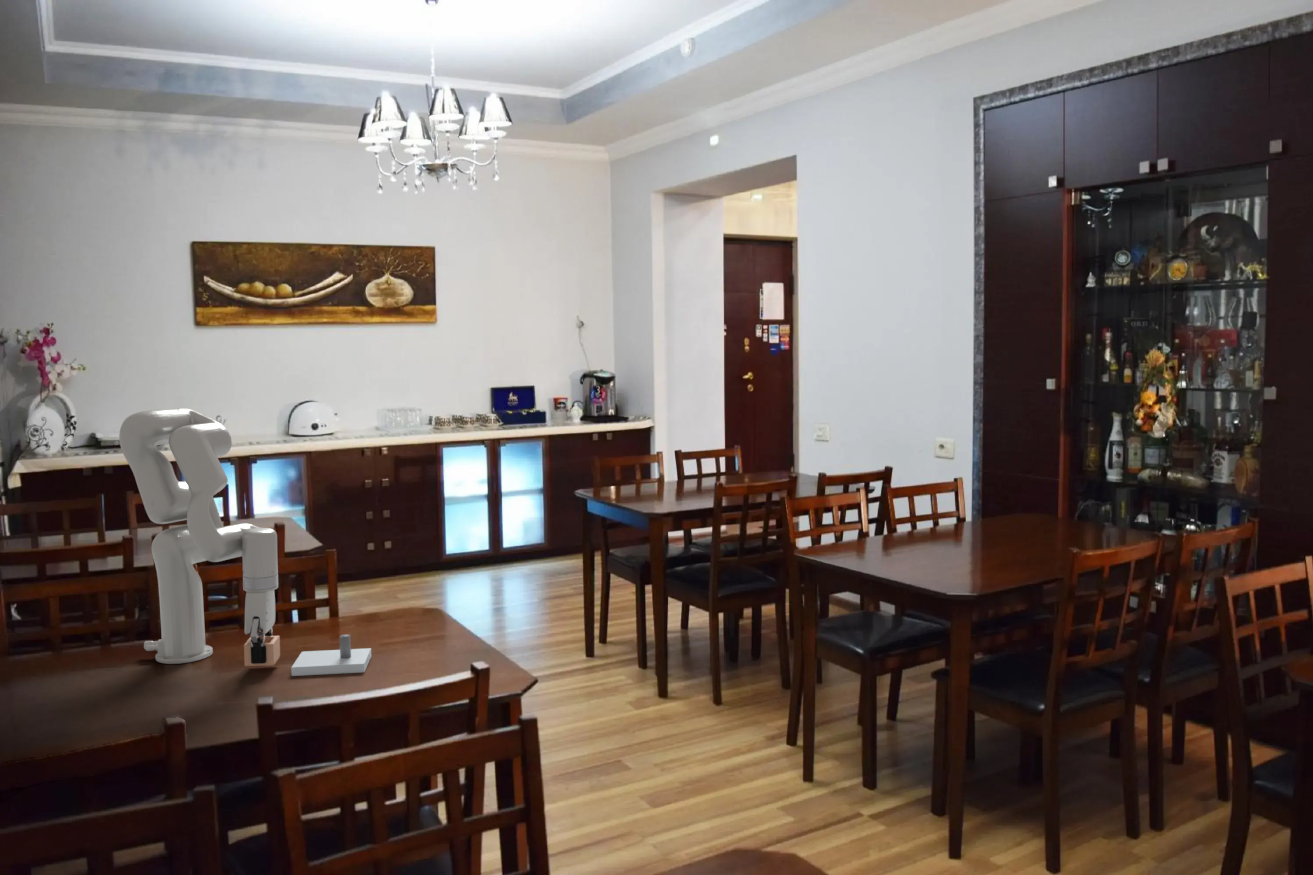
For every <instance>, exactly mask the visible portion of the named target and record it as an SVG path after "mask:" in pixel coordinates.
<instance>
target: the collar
mask: <svg viewBox="0 0 1313 875" xmlns="http://www.w3.org/2000/svg"><path fill="white" fill-rule="evenodd" d="M258 637H260V639H261V636H258ZM280 644H281V637H280V635H273V636H265V644H264V646H266V663H262V664H252V663H251V636H250V637H249V638H248V639H247V640H246V642H245V643H244V644H243V649H244V651H243V652H244V653H243V655H244V656H243V657H244V660H243V661H244V667H256V666H257V667H259V666H261V667H262V666H264V667H265V666H275V664H276V663H277V662H278V660H279V659H280V657H281V645H280Z"/></svg>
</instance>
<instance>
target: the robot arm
mask: <svg viewBox="0 0 1313 875" xmlns="http://www.w3.org/2000/svg"><path fill="white" fill-rule="evenodd" d="M118 437H119V439H118V440H119V441H118V442H119V446H120V449H121V452H122V454H123V456H124V458H125V459H126V462H127V463H128V465H129V467H130V469H131V472H132V473H133V476H134V478H135V482H136V485H137V489H138V491H139V494H140V497H141V500H142V504H143V506H144V510H145V513H146V514H147V516H148V518H149V520H150V521H151V522H153V523H154V524H158V525H165V524H172V523H173V524H174V523H177V522H182V521H186V524H184V525H178V526H174V527H169V528H166V529H164V530H162V531H160V532H159V533H158V534H156V535H155V537H154V539H153V540H152V543H151V554H152V558H153V559H152V560H153V562H154V564H155V565H154V566H155V570H156V576H157V584H158V597H159V611H160V612H159V613H160V617H159V618H160V628H161V629H160V630H161V633H160V634H161V639H158V640H155V641H154V640H145V641H144V643H143V648H144V650H145V651H146V652H153V651H156V652H157V653H156V654H155V661H156V662H158V663H160V664H166V665H167V664H168V665H179V664H186V663H187V664H188V663H194V662H198V661H202V660H204V659H206V658H208V657H210V656H211V655H212V654H213V653H214V650H213V647H212V646H210V645H208V644H206V628H205V613H204V612H205V611H204V609H205V608H204V607H205V606H204V595H203V593H204V591H203V582H202V579H201V576H200V575H199V573H198V572H197V571H196V569H195V567H194V565H195V564H197V563H202V562H207V561H208V562H211V563H219V562H223V561H226V560H231V559H236V558H240V557H242V588H243V591H245V592H246V593H245V600H244V634H245V635H249V634H250V637H251V663H252V664H262V663H266V646H264V644H265V636H274V635H273V634H274V631H273V626H274V625H275V623H276V597H275V592H276V591H275V590H277V589H278V588H279V570H278V569H279V564H278V560H279V558H278V533H277V531H276V530H275V529H273V528H270V527H259V526H256V525H255V524H252V523H248V522H241V523H236V524H231V525H225V526H224V525H223V523H222V519H221V516H220V513H219V510H218V507H217V504H216V501H215V498H214V496H215V495H217V493H220V492H221V491H222V490H223V489H225V487H226V486H227V485H228V477H227V474H226V473H225V470H224V469H223V466H222V463H221V462H220V460H219V458H220V457H223V456H226V455H228V454H229V452H230V451H231V448H232V444H233V443H232V437H231V435H230V432H229V431H228V429H227V428H226V427H225V426H224V425H223V424H222V423H221V422H219V421H217V420H215V419H213V418H211V417H208V416H206V415H205V414H202V413H200V412H198V411H196V410H193V409H190V408H185V407H181V408H180V407H179V408H165V409H163V408H162V409H150V410H149V409H148V410H142V411H138V412H135V413H133V414H131V415H129V416H127V417H126V418H125V419H124V421H122V424H121V425H120V429H119V435H118ZM165 445H169V449H170V451H171V453H172V456H173V457H174V459H175V462H176V464H177V466H178V468H179V471H180V472H181V475H182V477H183V479H184V480H181V481H179V480H178V478H177V476H176V474H175V470H174V468H173V464H172V463H171V461H170V460H169V459H168V458H167V456H166V455H165V454H164V453H162V452H161V451H160V450H159V449H157V446H165ZM258 636H261V639H260V637H258Z"/></svg>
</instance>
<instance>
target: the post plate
mask: <svg viewBox="0 0 1313 875" xmlns="http://www.w3.org/2000/svg"><path fill="white" fill-rule="evenodd" d="M351 646H352V645H351V634H349V633H348V634H341V635H339V649H330V650H329V649H326V650H325V649H324V650H307V651H306V650H305V651H301V652H300V654H299V655H298V657H297V658H296V659H295V662H293V664H292V666H291V667H290V670H291V671H290V672H291V677H297V676H298V677H299V676H314V675H315V676H316V675H317V676H318V675H336V674H338V675H339V674H353V673H355V674H356V673H357V674H358V673H365V672H366V670H367V667H368V665H369V662H370V661H371V658H372V648H371V647H369V648H352V647H351Z"/></svg>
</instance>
